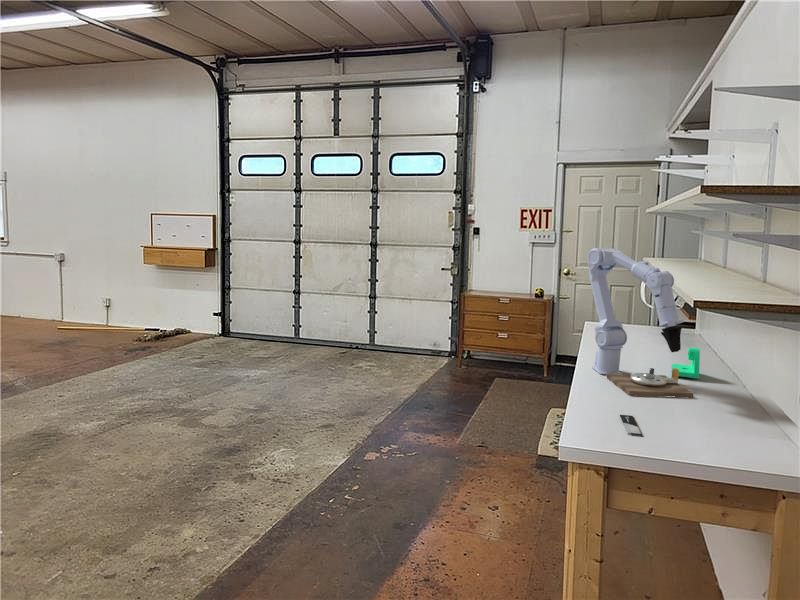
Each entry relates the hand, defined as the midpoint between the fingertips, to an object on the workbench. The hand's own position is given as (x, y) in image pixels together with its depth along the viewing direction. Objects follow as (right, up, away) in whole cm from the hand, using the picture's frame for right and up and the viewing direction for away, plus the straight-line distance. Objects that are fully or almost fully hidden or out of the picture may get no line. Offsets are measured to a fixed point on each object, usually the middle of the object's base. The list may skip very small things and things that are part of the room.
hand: (675, 351), depth 185 cm
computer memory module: (-25, -18, -28) cm, 42 cm away
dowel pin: (-2, -10, +14) cm, 18 cm away
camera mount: (+15, -11, +26) cm, 32 cm away
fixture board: (-5, -12, +9) cm, 16 cm away
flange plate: (-3, -11, +9) cm, 14 cm away
